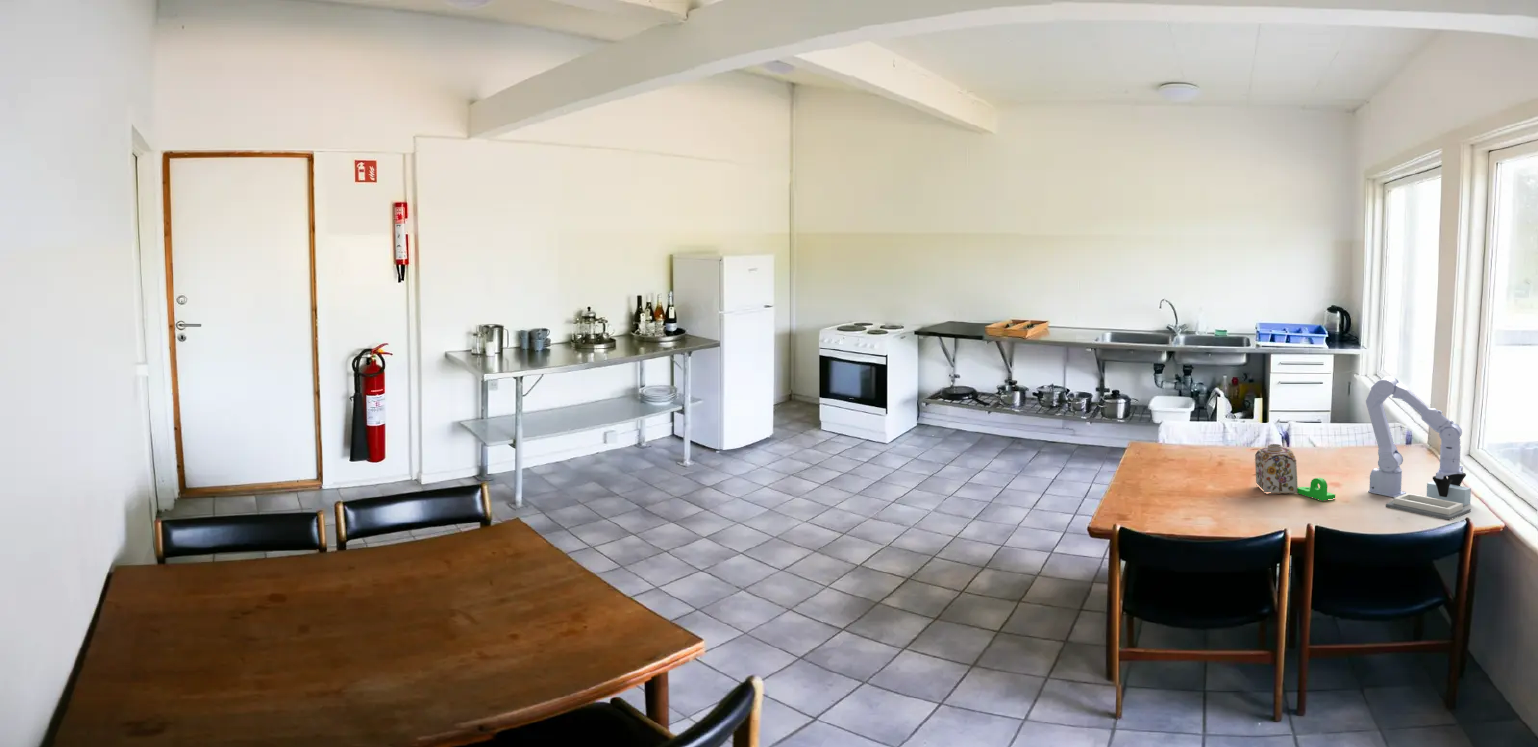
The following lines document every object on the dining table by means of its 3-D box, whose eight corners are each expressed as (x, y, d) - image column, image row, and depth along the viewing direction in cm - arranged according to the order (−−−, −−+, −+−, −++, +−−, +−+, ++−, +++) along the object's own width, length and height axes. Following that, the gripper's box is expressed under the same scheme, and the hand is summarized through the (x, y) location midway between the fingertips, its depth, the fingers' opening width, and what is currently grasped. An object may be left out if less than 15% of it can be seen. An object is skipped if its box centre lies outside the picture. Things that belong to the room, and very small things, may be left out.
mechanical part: (1334, 499, 331) (1336, 479, 330) (1322, 501, 330) (1323, 480, 328) (1307, 491, 343) (1309, 471, 341) (1295, 492, 341) (1296, 472, 340)
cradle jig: (1386, 506, 320) (1386, 498, 319) (1407, 498, 326) (1407, 491, 326) (1449, 520, 302) (1450, 511, 302) (1470, 511, 309) (1470, 503, 308)
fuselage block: (1426, 499, 325) (1427, 483, 324) (1432, 496, 327) (1433, 481, 326) (1464, 506, 315) (1465, 490, 314) (1470, 504, 317) (1470, 488, 316)
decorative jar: (1255, 486, 353) (1253, 442, 351) (1288, 484, 351) (1286, 440, 348) (1264, 495, 342) (1262, 449, 340) (1298, 493, 339) (1296, 448, 337)
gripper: (1452, 463, 312) (1450, 500, 314) (1473, 456, 318) (1471, 492, 320) (1429, 459, 318) (1428, 496, 320) (1450, 452, 325) (1449, 488, 327)
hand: (1448, 494), depth 320 cm, fingers open, 7 cm apart
